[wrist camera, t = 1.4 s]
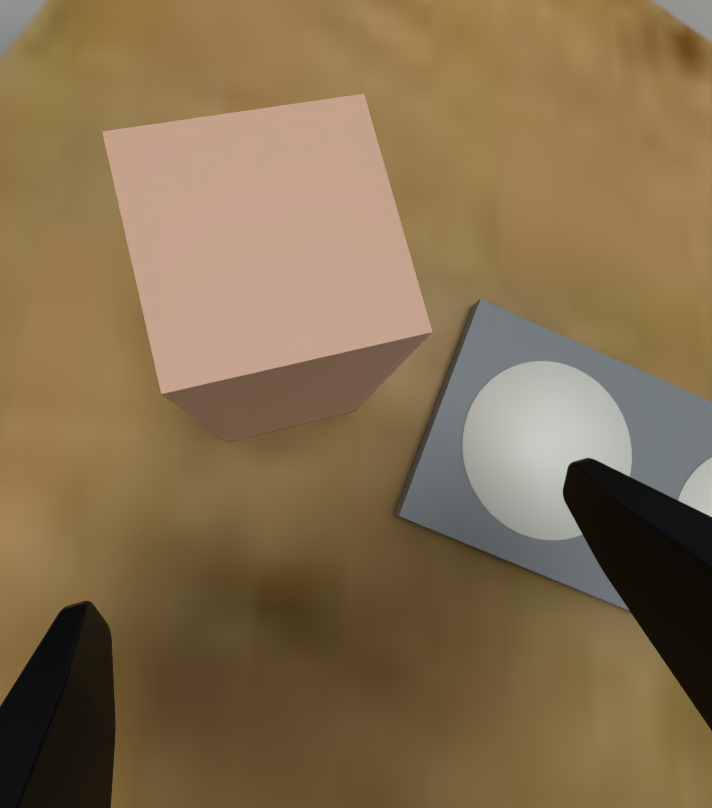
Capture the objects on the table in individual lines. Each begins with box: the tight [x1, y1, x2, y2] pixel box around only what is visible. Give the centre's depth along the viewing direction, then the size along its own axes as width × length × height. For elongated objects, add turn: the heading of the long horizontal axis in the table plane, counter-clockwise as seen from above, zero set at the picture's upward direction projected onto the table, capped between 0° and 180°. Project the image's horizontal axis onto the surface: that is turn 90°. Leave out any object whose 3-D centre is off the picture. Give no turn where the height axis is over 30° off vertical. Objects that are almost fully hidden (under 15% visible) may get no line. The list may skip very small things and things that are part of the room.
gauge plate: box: [394, 299, 712, 611], centre depth 22 cm, size 10×20×4 cm, turn 68°
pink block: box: [103, 94, 432, 442], centre depth 17 cm, size 6×6×12 cm
